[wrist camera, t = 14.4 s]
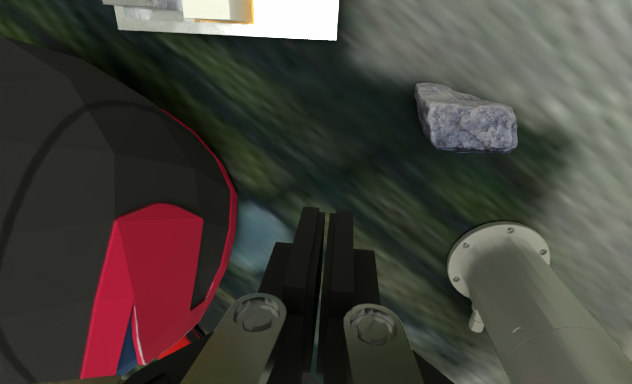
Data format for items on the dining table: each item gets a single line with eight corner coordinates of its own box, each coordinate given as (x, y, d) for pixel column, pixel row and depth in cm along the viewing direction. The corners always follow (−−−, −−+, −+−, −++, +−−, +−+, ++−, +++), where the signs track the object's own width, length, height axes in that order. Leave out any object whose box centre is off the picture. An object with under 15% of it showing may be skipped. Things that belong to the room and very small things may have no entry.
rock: (400, 130, 38) (418, 160, 29) (407, 79, 36) (430, 94, 27) (491, 135, 38) (539, 167, 29) (504, 84, 36) (562, 100, 26)
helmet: (78, 347, 47) (-411, 595, 18) (61, 127, 49) (-419, 12, 19) (258, 338, 43) (15, 640, 14) (233, 98, 45) (-35, -106, 15)
